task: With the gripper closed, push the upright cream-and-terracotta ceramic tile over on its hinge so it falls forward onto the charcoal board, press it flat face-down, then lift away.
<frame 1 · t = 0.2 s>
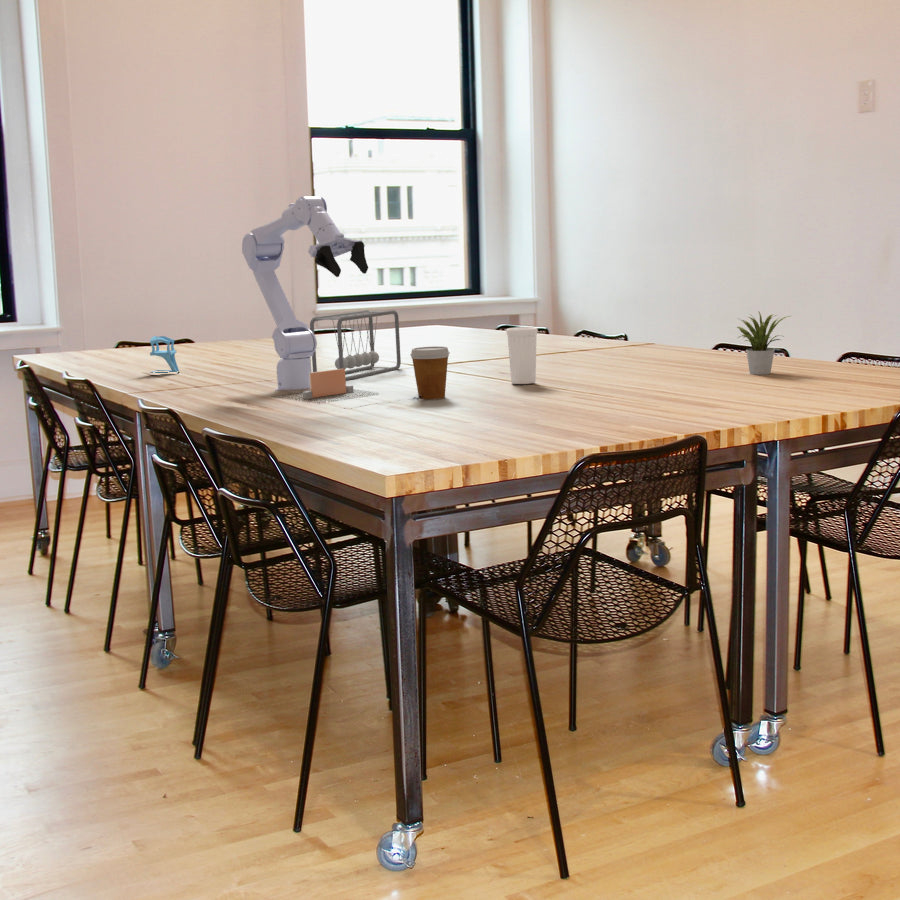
hand: (352, 272, 263), 31 cm above the table, tool tilted 45°, fingers open, 7 cm apart
chair: (165, 374, 345), on the table
cup: (523, 384, 286), on the table
house plant: (764, 373, 286), on the table
tile: (327, 382, 272), point 4 cm above the table, hinge at 0.0°
board: (327, 399, 273), on the table
newton's cradle: (358, 375, 322), on the table
disposable coffee cup: (432, 398, 268), on the table
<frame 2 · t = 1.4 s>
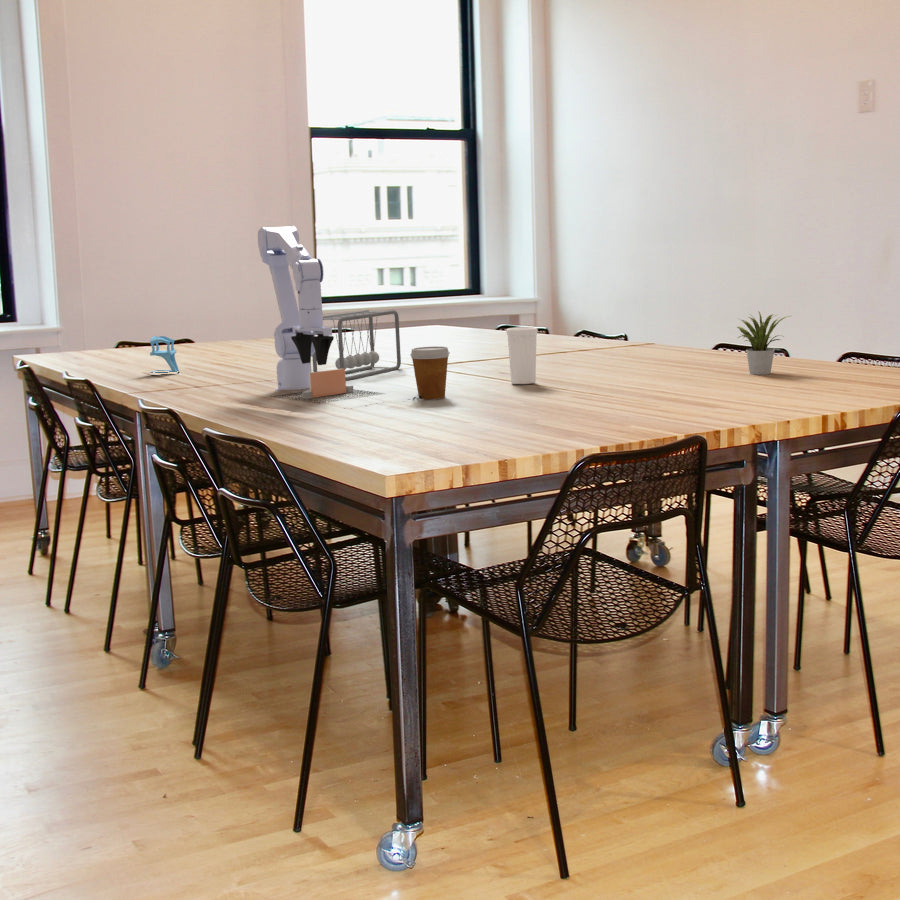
hand: (314, 364, 275), 8 cm above the table, tool pointing down, fingers open, 6 cm apart
nothing on the table moved.
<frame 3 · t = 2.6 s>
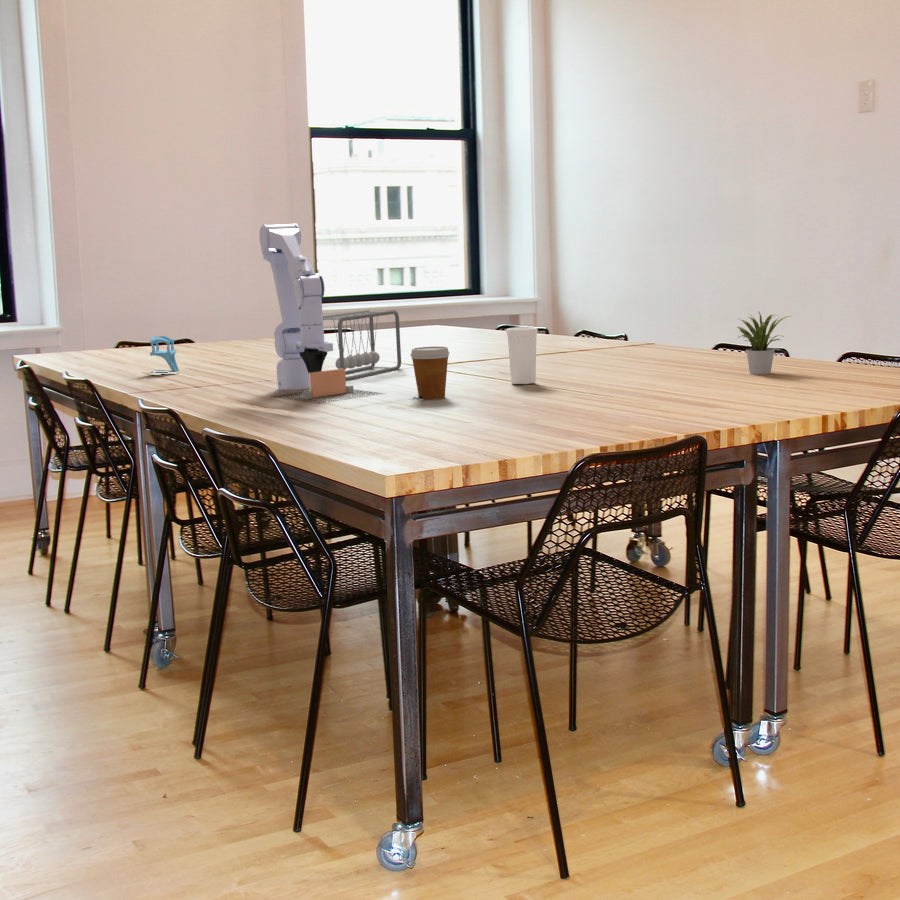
hand: (315, 379, 276), 5 cm above the table, tool pointing down, fingers closed
nothing on the table moved.
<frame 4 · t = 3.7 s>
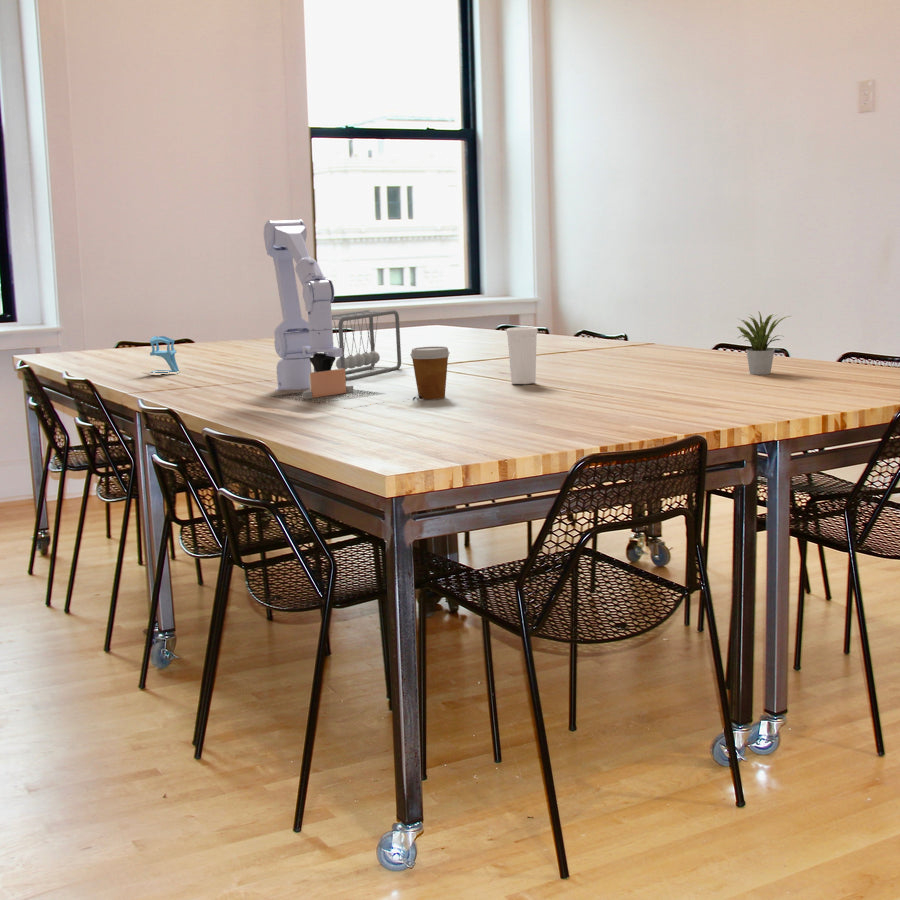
hand: (324, 384, 273), 3 cm above the table, tool pointing down, fingers closed, pressing on tile
tile: (327, 382, 272), point 4 cm above the table, hinge at 0.3°, touching gripper
everything else where it was.
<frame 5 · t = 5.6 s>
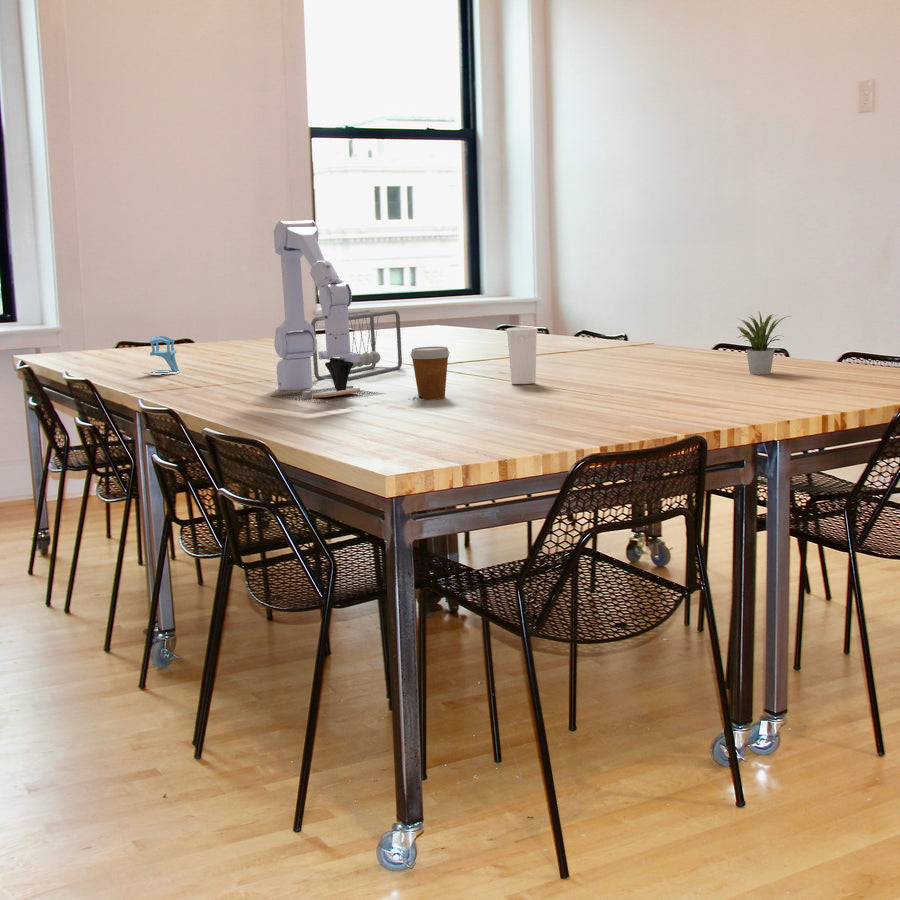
hand: (340, 390, 268), 3 cm above the table, tool pointing down, fingers closed, pressing on tile
tile: (336, 392, 270), point 2 cm above the table, hinge at 83.7°, touching gripper
everything else where it was.
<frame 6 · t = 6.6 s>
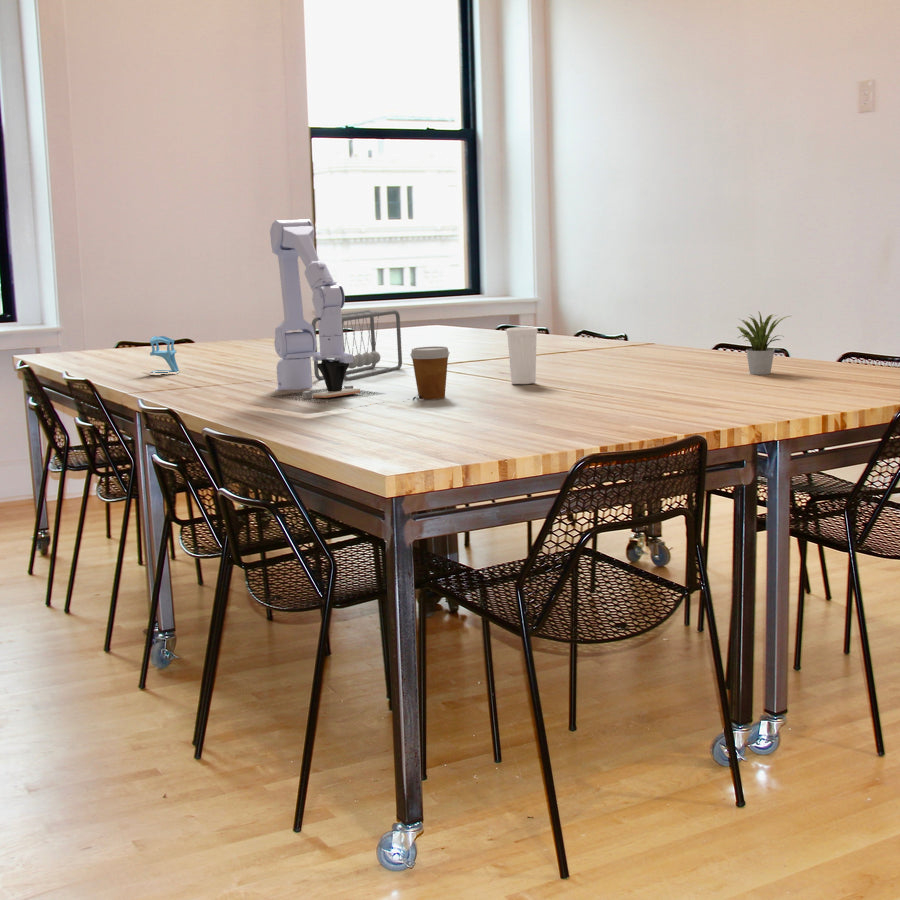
hand: (334, 391, 270), 2 cm above the table, tool pointing down, fingers closed
tile: (336, 393, 270), point 2 cm above the table, hinge at 85.4°, touching gripper
everything else where it was.
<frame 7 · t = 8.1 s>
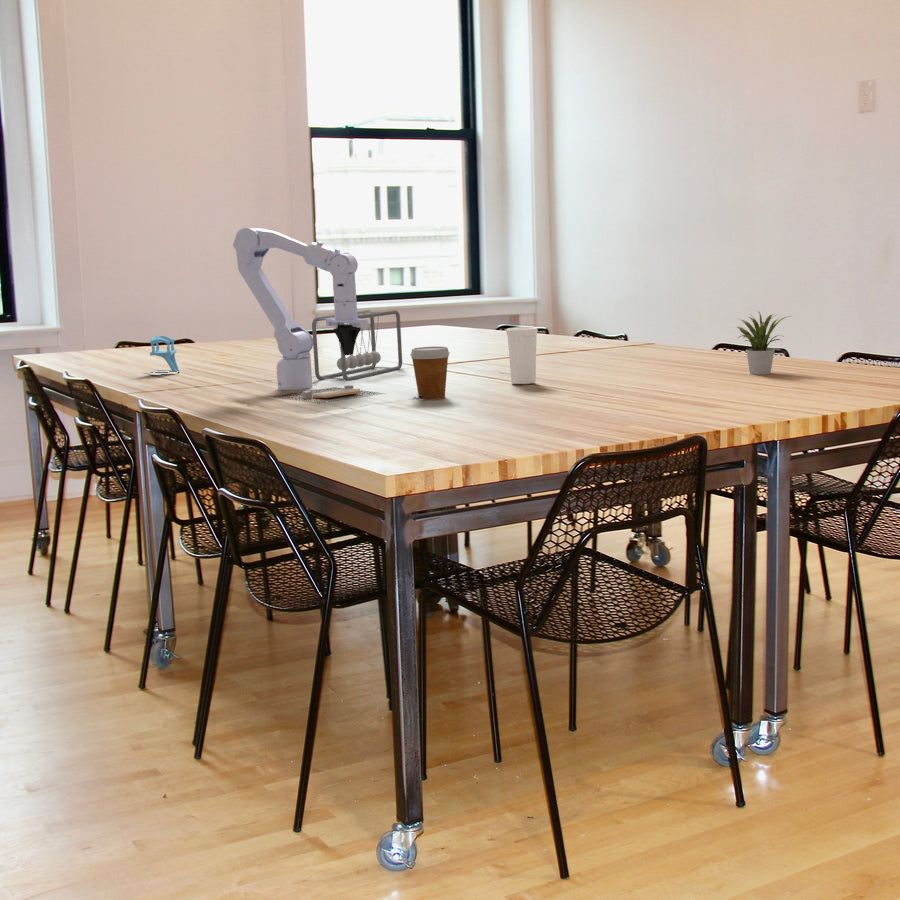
hand: (348, 354, 284), 9 cm above the table, tool pointing down, fingers closed
tile: (336, 393, 270), point 2 cm above the table, hinge at 85.5°
everything else where it was.
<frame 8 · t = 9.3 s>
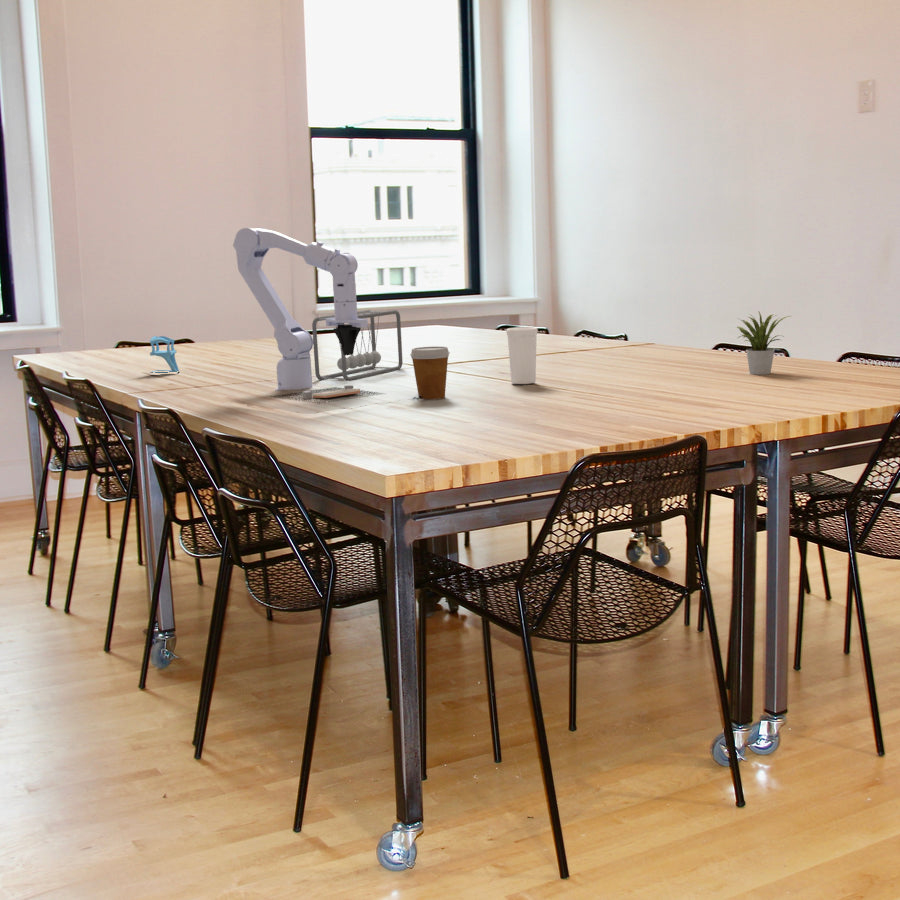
hand: (348, 354, 284), 9 cm above the table, tool pointing down, fingers closed
nothing on the table moved.
at the end: tile at +86° (first picture: +0°); the gripper is holding nothing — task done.
